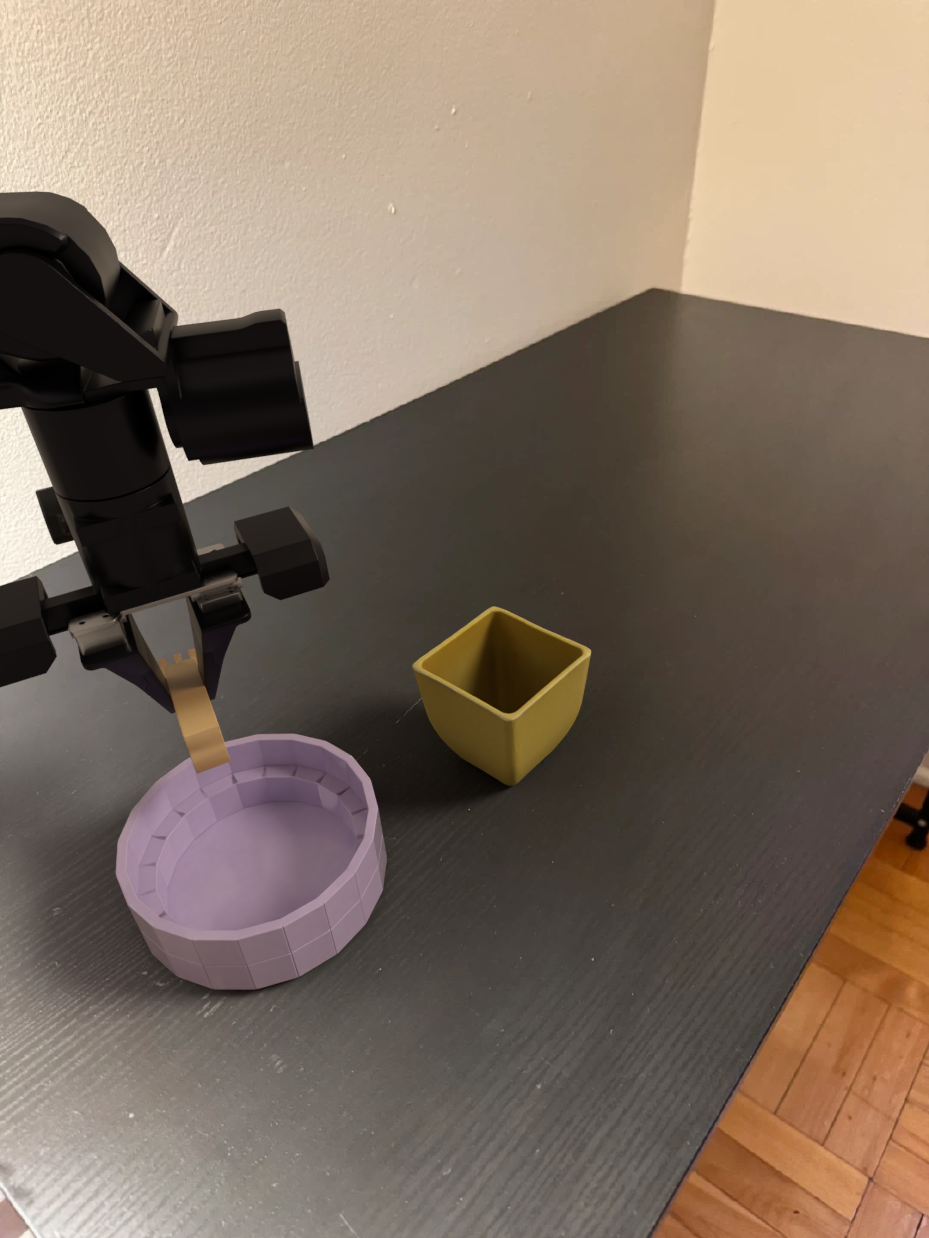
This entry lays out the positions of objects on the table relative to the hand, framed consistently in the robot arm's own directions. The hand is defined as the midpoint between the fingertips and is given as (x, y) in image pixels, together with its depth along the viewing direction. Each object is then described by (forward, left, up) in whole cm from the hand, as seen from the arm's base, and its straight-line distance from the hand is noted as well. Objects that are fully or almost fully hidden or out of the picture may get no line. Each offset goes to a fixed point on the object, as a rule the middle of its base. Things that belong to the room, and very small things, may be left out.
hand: (192, 702), depth 52 cm
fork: (0, 0, -1) cm, 1 cm away
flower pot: (+16, +11, -10) cm, 22 cm away
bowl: (+5, -4, -10) cm, 12 cm away
